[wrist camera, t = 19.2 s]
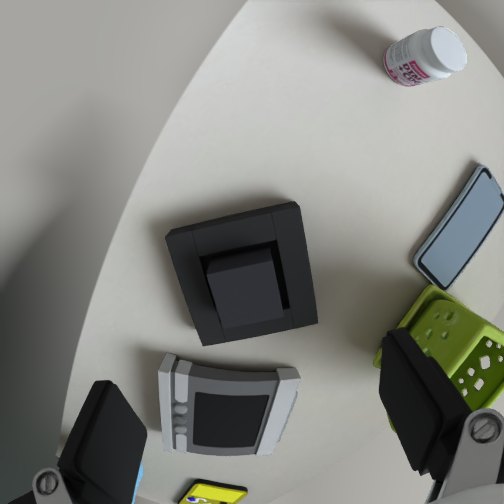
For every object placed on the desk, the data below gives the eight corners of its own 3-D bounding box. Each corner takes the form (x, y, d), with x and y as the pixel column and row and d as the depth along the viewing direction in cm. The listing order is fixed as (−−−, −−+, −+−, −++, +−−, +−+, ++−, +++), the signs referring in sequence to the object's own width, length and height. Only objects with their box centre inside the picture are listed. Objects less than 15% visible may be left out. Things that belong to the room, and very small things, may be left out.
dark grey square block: (225, 307, 30) (223, 329, 26) (210, 257, 28) (205, 274, 25) (279, 296, 30) (284, 317, 26) (268, 244, 28) (272, 260, 24)
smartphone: (412, 262, 29) (484, 161, 25) (408, 259, 30) (479, 160, 26) (443, 295, 31) (509, 203, 27) (440, 291, 32) (504, 201, 28)
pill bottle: (380, 80, 24) (426, 62, 16) (382, 39, 22) (424, 12, 14) (420, 93, 24) (471, 83, 16) (421, 53, 23) (469, 35, 15)
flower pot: (477, 305, 33) (532, 355, 21) (420, 381, 37) (457, 441, 25) (421, 265, 30) (489, 322, 19) (354, 358, 34) (389, 436, 23)
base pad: (205, 332, 32) (202, 346, 30) (170, 229, 28) (164, 237, 26) (313, 310, 32) (318, 323, 30) (294, 201, 28) (299, 206, 26)
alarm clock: (158, 371, 30) (306, 394, 30) (169, 346, 34) (303, 368, 35) (163, 450, 36) (274, 468, 36) (171, 428, 40) (274, 445, 40)
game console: (194, 477, 44) (194, 483, 43) (250, 487, 46) (250, 493, 44) (176, 503, 50) (176, 508, 48) (222, 512, 51) (222, 516, 50)
